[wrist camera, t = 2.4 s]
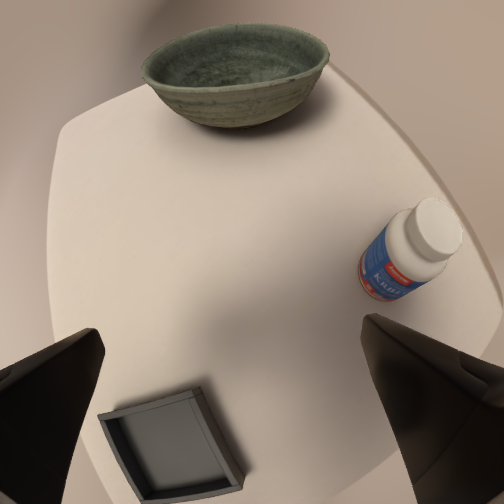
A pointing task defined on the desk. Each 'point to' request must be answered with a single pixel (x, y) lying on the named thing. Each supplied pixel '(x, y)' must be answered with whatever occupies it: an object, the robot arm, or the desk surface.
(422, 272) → the pill bottle
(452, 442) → the robot arm
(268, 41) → the bowl
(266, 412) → the desk surface
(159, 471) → the tray
